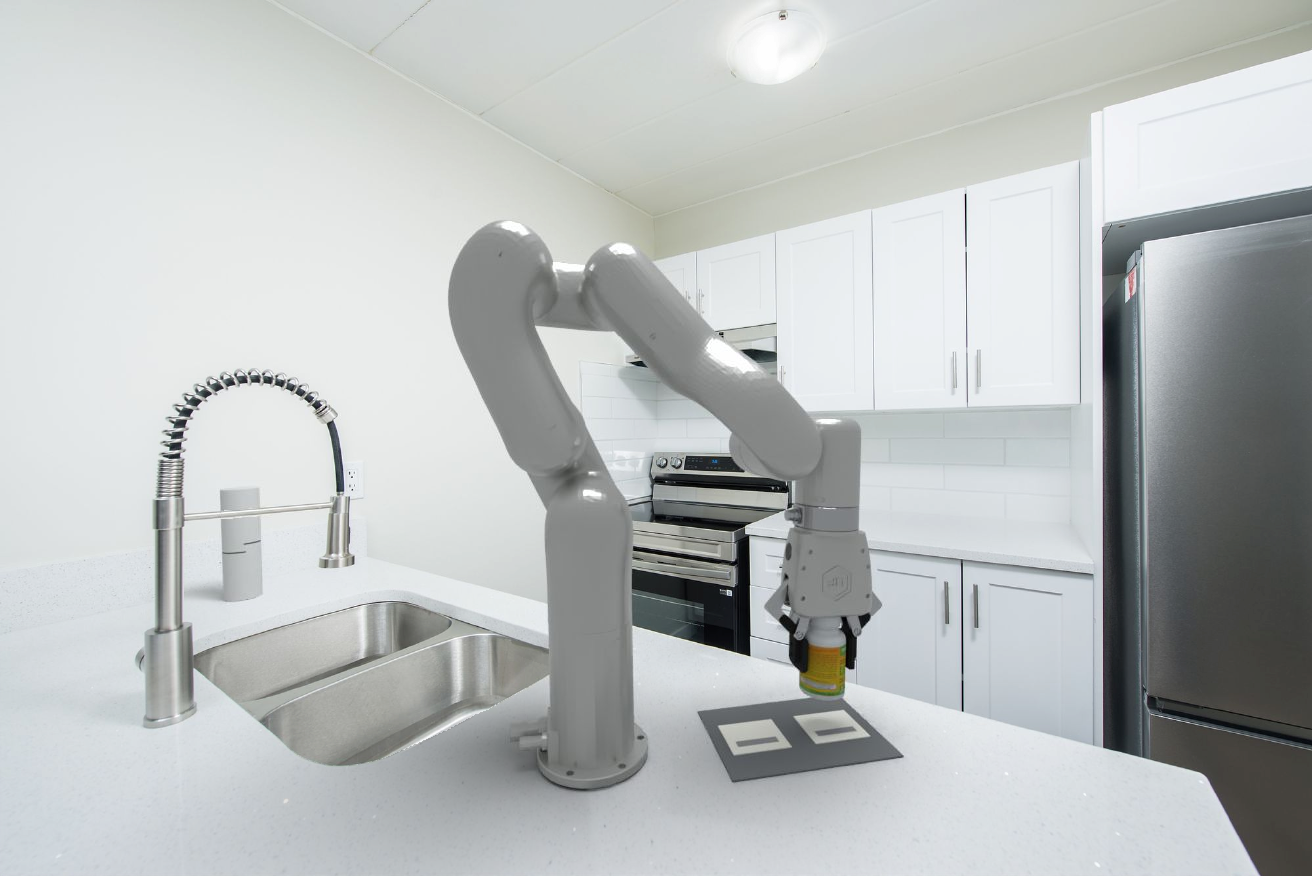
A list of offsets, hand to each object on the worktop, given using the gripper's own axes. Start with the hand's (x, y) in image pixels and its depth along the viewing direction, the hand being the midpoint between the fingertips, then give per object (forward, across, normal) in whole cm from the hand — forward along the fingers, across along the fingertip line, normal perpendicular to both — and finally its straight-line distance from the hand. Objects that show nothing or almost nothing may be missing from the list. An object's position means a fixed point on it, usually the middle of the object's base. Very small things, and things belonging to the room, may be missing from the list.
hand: (822, 665), depth 65 cm
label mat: (+8, -4, 0) cm, 9 cm away
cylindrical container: (+12, -103, +78) cm, 129 cm away
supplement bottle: (+3, 0, 0) cm, 3 cm away
